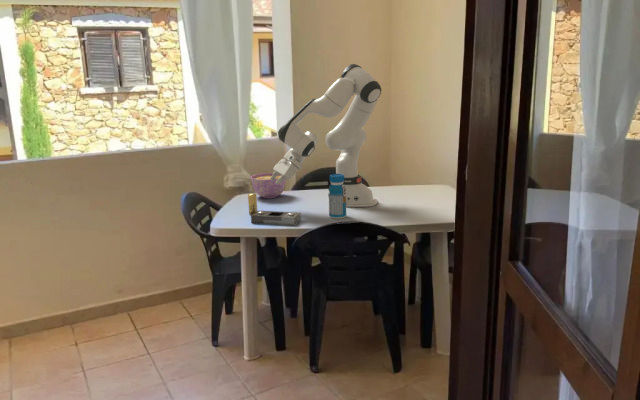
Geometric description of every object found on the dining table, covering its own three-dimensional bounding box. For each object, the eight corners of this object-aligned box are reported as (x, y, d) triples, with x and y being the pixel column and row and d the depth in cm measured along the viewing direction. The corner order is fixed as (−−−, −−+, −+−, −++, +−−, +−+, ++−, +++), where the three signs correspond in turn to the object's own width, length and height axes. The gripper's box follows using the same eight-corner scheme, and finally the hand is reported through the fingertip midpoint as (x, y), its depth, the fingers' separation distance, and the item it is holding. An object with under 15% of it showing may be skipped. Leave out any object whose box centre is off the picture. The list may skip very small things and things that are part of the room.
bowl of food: (294, 194, 292) (293, 174, 290) (273, 202, 276) (272, 181, 273) (266, 191, 303) (265, 171, 300) (244, 198, 287) (242, 178, 284)
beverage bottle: (333, 220, 240) (332, 177, 235) (326, 215, 247) (324, 174, 242) (349, 217, 243) (349, 175, 238) (341, 213, 250) (341, 172, 246)
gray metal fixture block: (300, 219, 242) (300, 211, 241) (294, 225, 233) (294, 216, 232) (259, 217, 248) (258, 209, 247) (251, 222, 239) (250, 214, 238)
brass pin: (258, 213, 256) (257, 193, 253) (255, 215, 252) (254, 195, 250) (251, 212, 257) (250, 193, 254) (247, 214, 253) (246, 194, 251)
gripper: (281, 153, 263) (263, 174, 262) (294, 159, 245) (275, 181, 244) (290, 161, 266) (272, 181, 265) (303, 167, 247) (284, 189, 246)
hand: (274, 181), depth 254 cm, fingers open, 8 cm apart
